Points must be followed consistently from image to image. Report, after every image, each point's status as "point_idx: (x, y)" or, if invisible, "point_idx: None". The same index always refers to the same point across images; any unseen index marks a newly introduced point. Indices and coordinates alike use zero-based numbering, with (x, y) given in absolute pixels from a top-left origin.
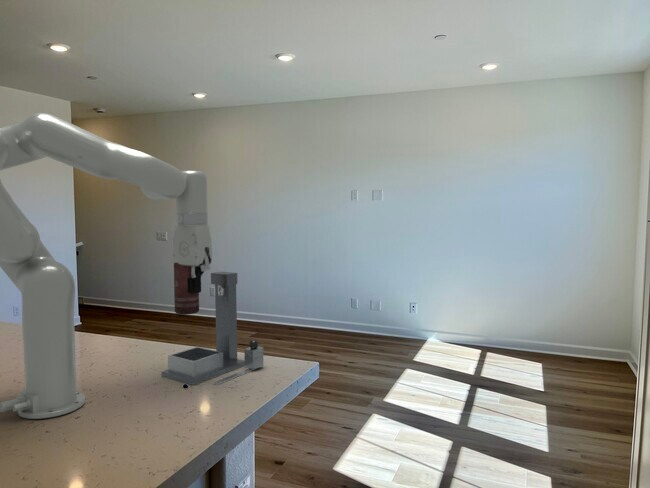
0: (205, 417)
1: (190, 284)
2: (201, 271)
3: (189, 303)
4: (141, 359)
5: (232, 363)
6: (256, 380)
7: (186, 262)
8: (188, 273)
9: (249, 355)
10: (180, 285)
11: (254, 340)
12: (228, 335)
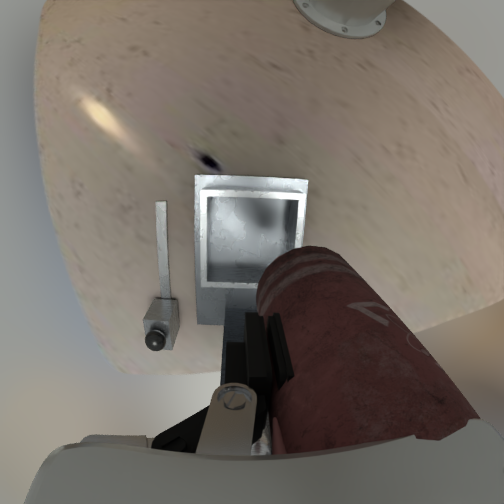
0: (77, 93)
1: (255, 344)
2: (151, 438)
3: (267, 288)
4: (417, 238)
5: (207, 299)
6: (116, 262)
7: (267, 486)
8: (294, 408)
9: (157, 313)
10: (328, 310)
11: (149, 344)
12: (225, 342)
